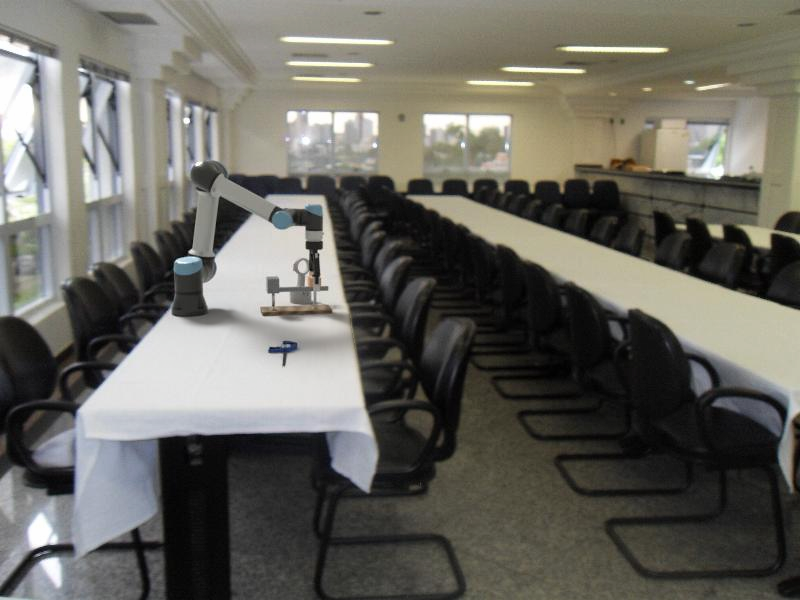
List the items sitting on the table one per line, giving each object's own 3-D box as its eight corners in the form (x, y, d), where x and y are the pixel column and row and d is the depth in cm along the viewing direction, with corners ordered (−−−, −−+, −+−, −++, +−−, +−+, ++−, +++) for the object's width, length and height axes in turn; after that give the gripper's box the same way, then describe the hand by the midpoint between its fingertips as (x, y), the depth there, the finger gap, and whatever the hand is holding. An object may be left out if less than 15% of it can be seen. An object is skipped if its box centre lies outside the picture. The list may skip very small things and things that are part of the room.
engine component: (285, 301, 371) (297, 304, 364) (285, 257, 368) (296, 260, 360) (305, 298, 378) (317, 301, 371) (305, 255, 374) (317, 258, 367)
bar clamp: (269, 340, 287) (297, 340, 288) (269, 346, 288) (297, 346, 289) (265, 367, 256) (296, 367, 257) (265, 375, 256) (296, 374, 258)
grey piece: (267, 310, 341) (267, 279, 339) (266, 307, 348) (266, 276, 345) (329, 308, 348) (329, 277, 345) (326, 305, 354) (326, 275, 352)
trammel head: (309, 307, 345) (309, 278, 343) (307, 304, 352) (307, 275, 350) (321, 307, 347) (321, 278, 344) (318, 304, 353) (318, 275, 351)
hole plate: (262, 315, 339) (262, 311, 338) (260, 310, 350) (260, 306, 350) (332, 313, 346) (332, 309, 345) (328, 307, 357) (328, 304, 357)
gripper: (327, 243, 333) (327, 293, 337) (318, 237, 357) (318, 283, 361) (309, 243, 331) (309, 294, 335) (302, 237, 355) (302, 284, 359)
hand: (314, 288), depth 348 cm, fingers open, 13 cm apart
